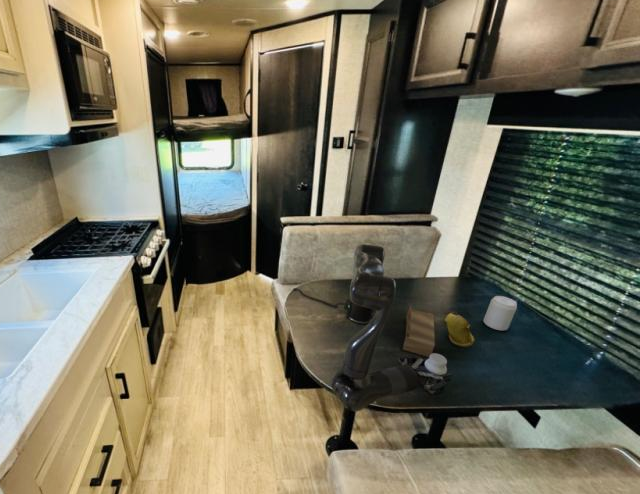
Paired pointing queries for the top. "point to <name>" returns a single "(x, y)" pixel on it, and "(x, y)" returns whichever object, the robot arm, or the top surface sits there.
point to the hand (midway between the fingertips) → (440, 368)
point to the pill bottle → (435, 365)
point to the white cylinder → (500, 313)
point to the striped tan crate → (419, 332)
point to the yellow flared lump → (459, 330)
